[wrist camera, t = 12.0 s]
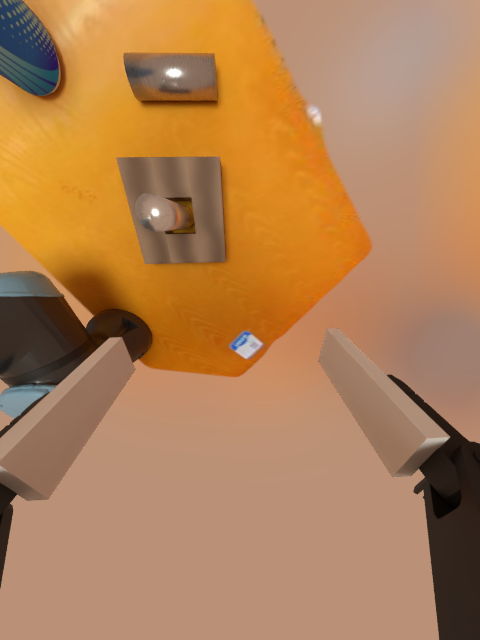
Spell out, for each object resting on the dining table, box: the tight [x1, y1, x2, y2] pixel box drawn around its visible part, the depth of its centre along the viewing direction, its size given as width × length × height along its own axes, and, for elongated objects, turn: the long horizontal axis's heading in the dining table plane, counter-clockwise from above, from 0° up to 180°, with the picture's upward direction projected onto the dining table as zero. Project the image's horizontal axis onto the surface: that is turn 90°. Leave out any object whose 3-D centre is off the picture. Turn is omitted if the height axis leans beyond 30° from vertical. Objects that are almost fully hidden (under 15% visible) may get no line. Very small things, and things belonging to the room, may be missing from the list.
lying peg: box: [124, 53, 217, 101], centre depth 25 cm, size 12×4×4 cm
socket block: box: [117, 157, 226, 264], centre depth 33 cm, size 16×16×4 cm
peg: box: [135, 193, 194, 232], centre depth 28 cm, size 4×4×16 cm
